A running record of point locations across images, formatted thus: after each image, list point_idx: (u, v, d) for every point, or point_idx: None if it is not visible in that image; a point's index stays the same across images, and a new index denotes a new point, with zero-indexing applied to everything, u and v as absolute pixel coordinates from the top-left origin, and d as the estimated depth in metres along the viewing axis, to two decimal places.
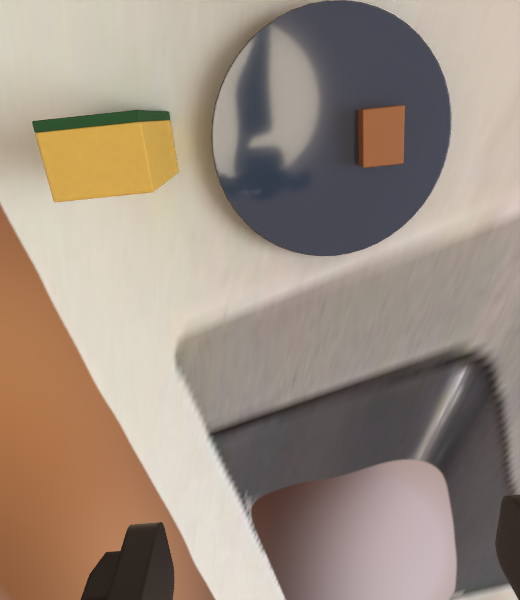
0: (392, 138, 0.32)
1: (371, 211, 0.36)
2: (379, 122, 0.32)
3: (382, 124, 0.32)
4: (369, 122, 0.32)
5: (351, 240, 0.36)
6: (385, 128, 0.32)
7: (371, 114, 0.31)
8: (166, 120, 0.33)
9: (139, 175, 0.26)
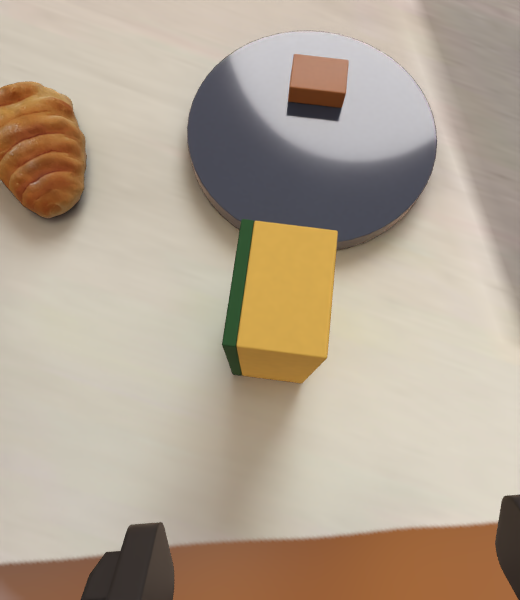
0: (322, 66, 0.32)
1: (391, 103, 0.33)
2: (304, 75, 0.32)
3: (307, 72, 0.32)
4: (302, 83, 0.31)
5: (421, 125, 0.32)
6: (311, 70, 0.32)
7: (295, 80, 0.31)
8: None
9: (314, 240, 0.20)
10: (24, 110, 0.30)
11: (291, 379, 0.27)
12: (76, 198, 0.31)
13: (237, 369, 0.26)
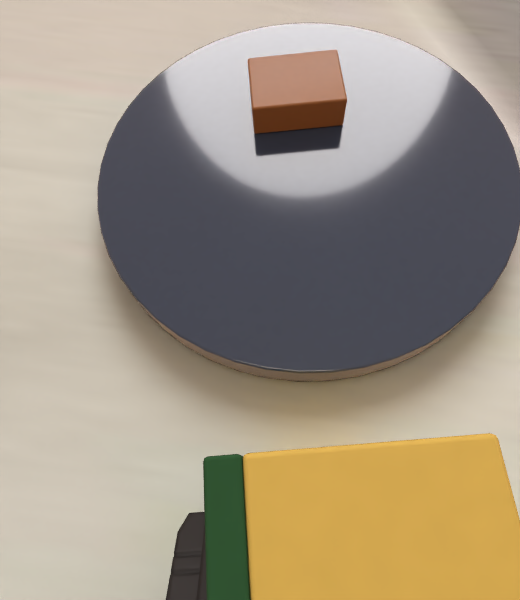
0: (297, 66, 0.19)
1: (419, 101, 0.20)
2: (272, 85, 0.19)
3: (275, 81, 0.19)
4: (271, 98, 0.19)
5: (478, 124, 0.20)
6: (282, 76, 0.19)
7: (260, 96, 0.19)
8: None
9: (439, 485, 0.06)
10: None
11: None
12: None
13: None
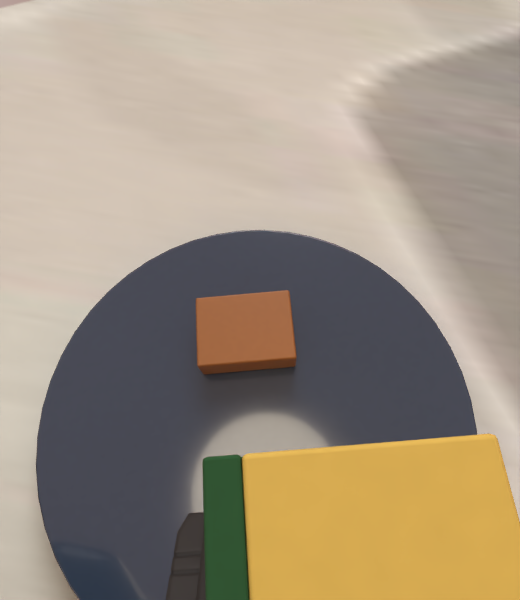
0: (246, 312, 0.18)
1: (376, 337, 0.19)
2: (219, 336, 0.18)
3: (223, 330, 0.18)
4: (217, 353, 0.18)
5: (435, 370, 0.19)
6: (230, 325, 0.18)
7: (206, 350, 0.18)
8: None
9: (437, 485, 0.06)
10: None
11: None
12: None
13: None
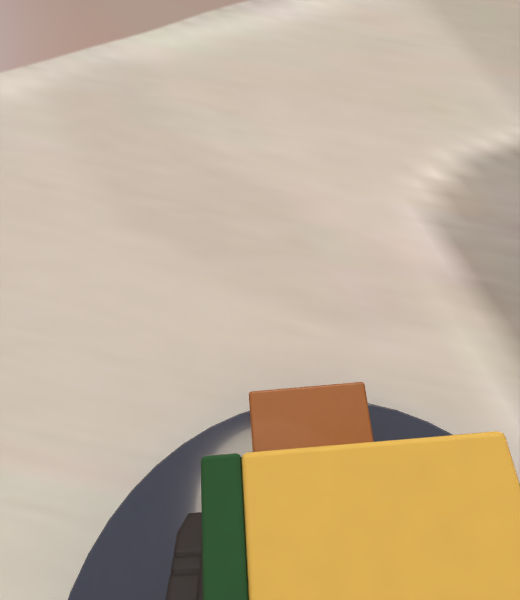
0: (313, 411, 0.15)
1: None
2: (280, 444, 0.15)
3: (285, 436, 0.15)
4: None
5: None
6: (293, 429, 0.15)
7: None
8: None
9: (445, 485, 0.06)
10: None
11: None
12: None
13: None
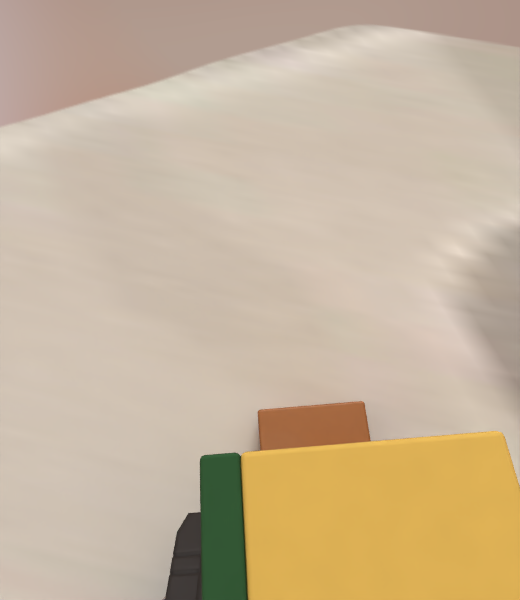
0: (317, 428, 0.16)
1: None
2: None
3: None
4: None
5: None
6: (299, 445, 0.16)
7: None
8: None
9: (444, 484, 0.06)
10: None
11: None
12: None
13: None
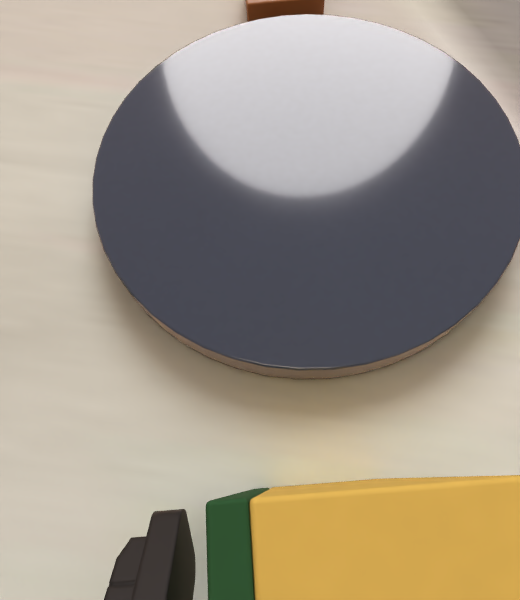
0: None
1: (421, 93, 0.20)
2: None
3: None
4: None
5: (481, 116, 0.19)
6: None
7: None
8: (269, 489, 0.14)
9: (468, 535, 0.06)
10: None
11: None
12: None
13: None
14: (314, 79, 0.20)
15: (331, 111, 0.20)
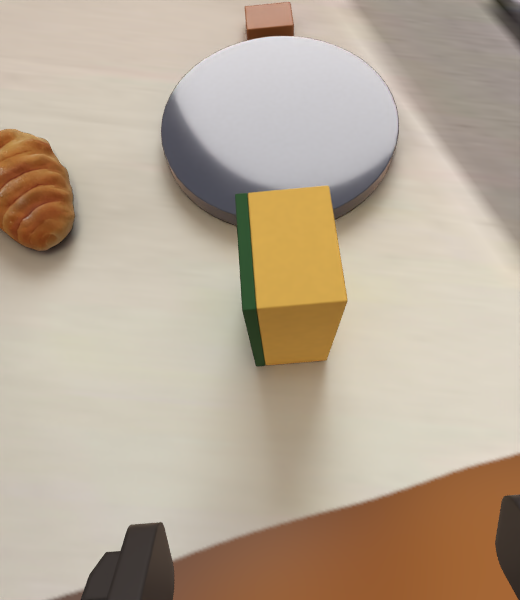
0: (269, 10, 0.38)
1: (346, 82, 0.35)
2: (256, 19, 0.38)
3: (258, 16, 0.38)
4: (256, 24, 0.38)
5: (378, 95, 0.34)
6: (261, 14, 0.38)
7: (250, 24, 0.38)
8: None
9: (308, 198, 0.21)
10: (6, 153, 0.31)
11: (315, 355, 0.27)
12: (69, 225, 0.31)
13: (260, 354, 0.26)
14: (285, 74, 0.35)
15: (295, 92, 0.35)
